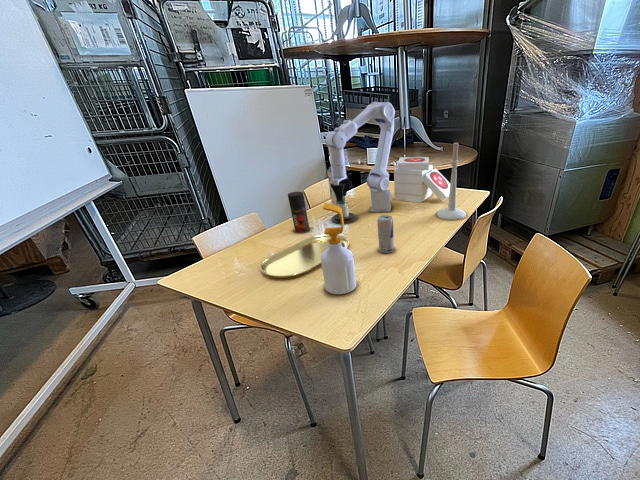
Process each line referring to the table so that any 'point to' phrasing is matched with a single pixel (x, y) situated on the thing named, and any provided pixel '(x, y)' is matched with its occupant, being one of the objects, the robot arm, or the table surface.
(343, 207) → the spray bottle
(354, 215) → the turntable base
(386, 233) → the energy drink
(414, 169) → the pizza boxes
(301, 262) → the serving platter
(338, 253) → the soap bottle
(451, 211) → the candlestick
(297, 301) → the table surface
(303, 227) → the deodorant
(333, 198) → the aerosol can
